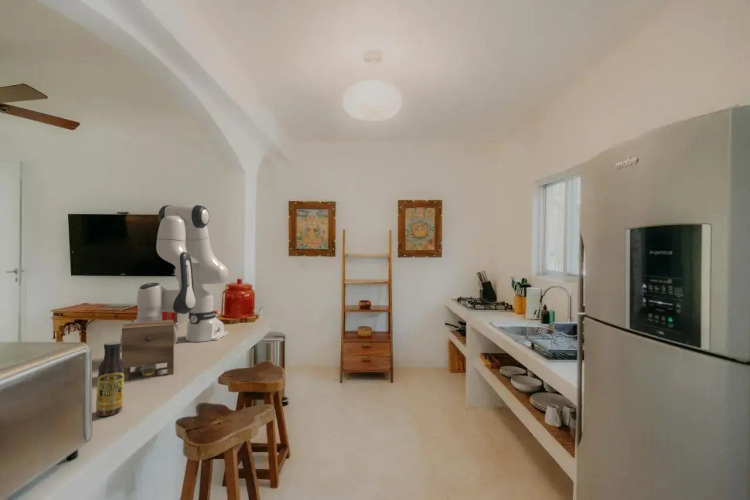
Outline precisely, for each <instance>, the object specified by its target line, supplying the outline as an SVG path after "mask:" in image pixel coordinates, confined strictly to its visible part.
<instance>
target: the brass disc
mask: <svg viewBox="0 0 750 500" xmlns="http://www.w3.org/2000/svg"><path fill="white" fill-rule="evenodd" d="M155 372H156V370H146V371H143V372H141V376H142V377H147V378H148V377H152V376H154V375H155Z"/></svg>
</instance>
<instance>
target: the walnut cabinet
mask: <svg viewBox="0 0 750 500" xmlns="http://www.w3.org/2000/svg"><path fill="white" fill-rule="evenodd" d="M173 321H174V319H164V320H163V319H162V320H161V321H148V322H135V323H127V322H126V323H124V324H123V325H122V328H121V334H122V349H121V360H122V361H123V363H124V382H126V381H129V380H130V374H131V368H137V367H140V366H145V365H153V364H156V365H159V364H166V369H167V370H166V371H167V372H166V374H167V375H169V376H170V375H174V367H175V366H174V365H175V364H174V363H175V361H174V359H175V358H174V357H175V356H174V355H175V351H174V350H175V348H174V346H175V345H174V324H175V323H174V322H175V321H174V322H173Z"/></svg>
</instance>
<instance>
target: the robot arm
mask: <svg viewBox="0 0 750 500" xmlns="http://www.w3.org/2000/svg"><path fill="white" fill-rule="evenodd" d="M157 219H158V222H159V226H158V231H157V237H156V252H157V255H158V256H159V257H160V258H161V259H162V260H164V261H166V262H168V263H170V264H172V265H173V266H174V267H175V268H176V269H175V272H174V275H175V276H174V277H175V278H176V281H177V282H178V289H171V288H170V289H169V288H166V287H163V286H162V285H161V284H160V283H159V282H150V283H149V282H148V283H144V284H142V285H140V286H139V288H138V291H137V295H136V307H137V310H138V311H137V314H136V319H134V320H131V321H128V322H126V323H135V322H148V321H161V320H163V313H164V312H166V313H176V314H180V315H181V314H182V315H187V314H188V321H187V326H186V334H185V335H184V338H185V341H187V342H192V343H199V342H202V343H203V342H208V341H217V340H220V339H222V338H223V336H224V337H225V336H227V335H228V333H229V334H230V332H229V331H227V330H225V326H224V325H225V324H224V322H223V321H222V320H220V319H218V318H217V317H216V315H218V314H219V313H220V312H219V310H218V309H217V310H216V309H214V296H213V294H212V293H211V292H210V291H208V290H206V289H205V288H204V285H217V284H223V283H225V282H226V281H227V279H228V277H229V269H228V268H227V266H226V265H225V264H224V263H222V262H221V261H219V259H217V257H216V256H215V255H214V253H213V250H212V246H211V241H210V234H209V229H208V224H209V222H210V212H209V210H208V209H207V208H206V206H204V205H200V204H195V205H194V204H188V203H187V204H173V205H172V204H166V205H163V206H162V207H161V208H160V209H159V211H158V213H157ZM192 259H194V260H196V261H197V262H192ZM162 312H163V313H162ZM173 322H174V344H177V342H178V334H177V333H178V331H179V323H177V322H176V321H174V320H173ZM221 337H222V338H221ZM119 339H120V340H119V342H121V348H120V350H122V333H121V335H120V338H119Z"/></svg>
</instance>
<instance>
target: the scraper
mask: <svg viewBox="0 0 750 500" xmlns="http://www.w3.org/2000/svg"><path fill="white" fill-rule="evenodd" d="M139 367H140V368H139V373H142V372H143V371H146V370H155V371H156V370H157V364H153V365H145V366H139Z"/></svg>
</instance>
